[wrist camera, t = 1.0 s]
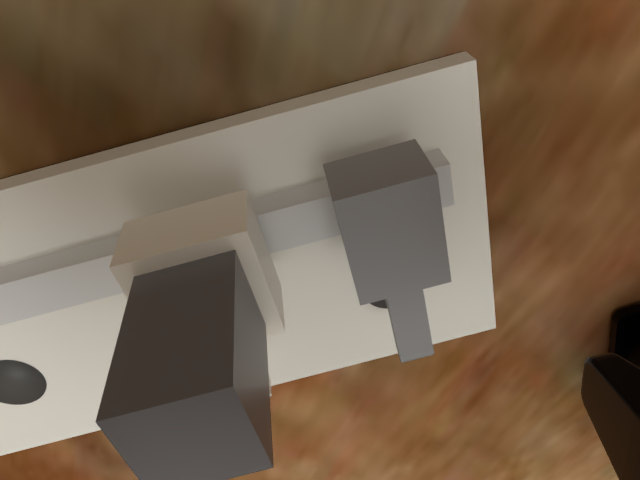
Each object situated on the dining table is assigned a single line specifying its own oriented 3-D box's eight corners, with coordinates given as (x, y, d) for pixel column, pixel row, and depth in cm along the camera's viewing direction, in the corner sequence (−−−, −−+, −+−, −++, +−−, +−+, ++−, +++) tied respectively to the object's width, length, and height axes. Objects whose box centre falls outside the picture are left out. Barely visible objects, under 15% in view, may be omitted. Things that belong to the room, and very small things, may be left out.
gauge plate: (487, 312, 25) (531, 392, 21) (-15, 442, 26) (-59, 541, 22) (465, 50, 18) (524, 99, 14) (-215, 238, 19) (-328, 330, 15)
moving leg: (301, 329, 22) (329, 540, 15) (206, 353, 22) (190, 574, 15) (246, 173, 18) (249, 364, 11) (129, 204, 18) (61, 413, 11)
